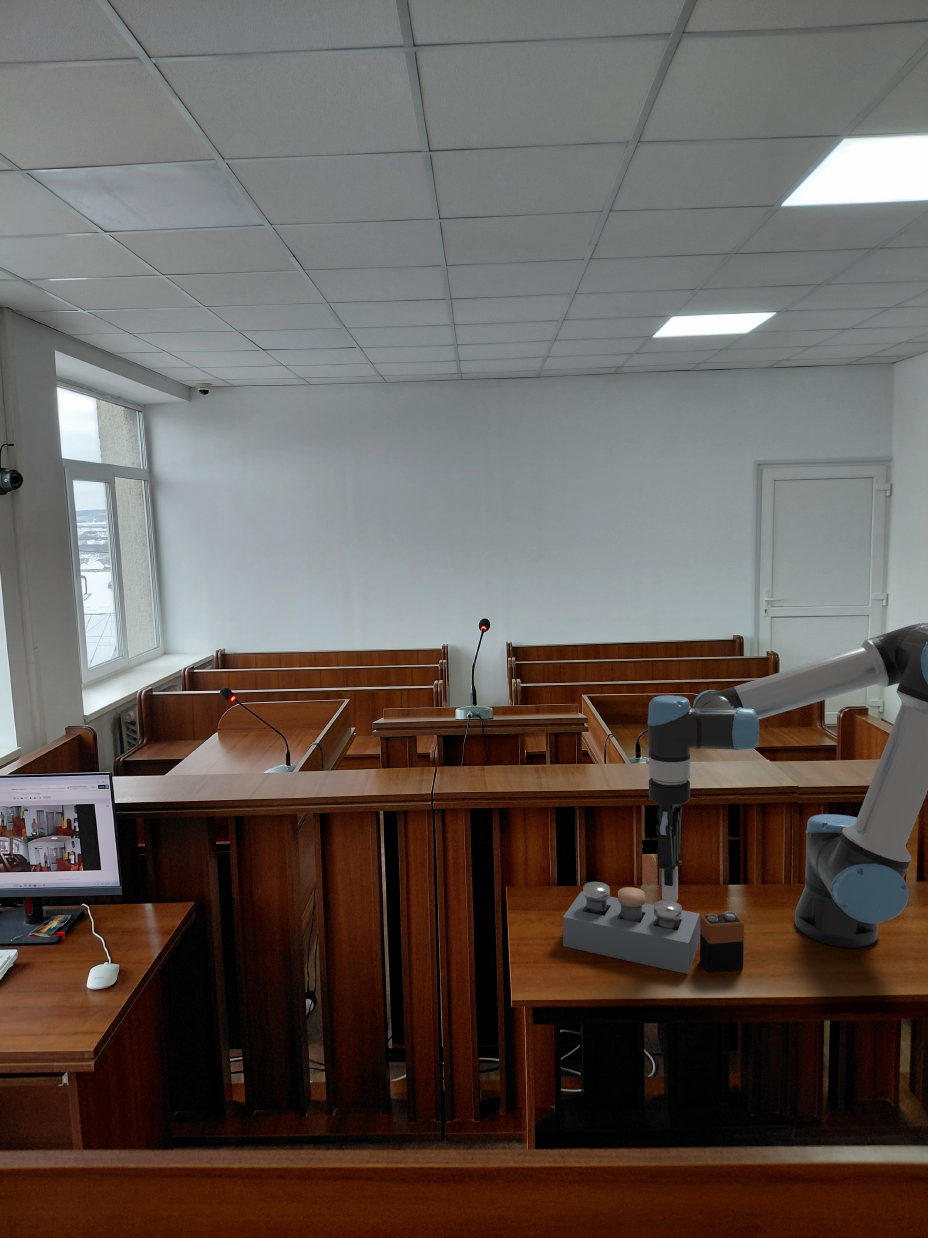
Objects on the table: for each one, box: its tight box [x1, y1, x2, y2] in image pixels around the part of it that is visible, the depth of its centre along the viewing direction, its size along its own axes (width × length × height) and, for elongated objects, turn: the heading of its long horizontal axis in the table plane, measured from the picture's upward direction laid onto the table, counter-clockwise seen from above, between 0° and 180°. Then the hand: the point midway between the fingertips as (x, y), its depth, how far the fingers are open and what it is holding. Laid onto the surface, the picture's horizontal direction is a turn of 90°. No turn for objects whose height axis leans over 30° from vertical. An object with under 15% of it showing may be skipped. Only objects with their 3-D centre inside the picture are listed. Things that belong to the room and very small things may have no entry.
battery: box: [699, 910, 745, 973], centre depth 144 cm, size 4×7×10 cm, turn 96°
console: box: [562, 890, 701, 975], centre depth 152 cm, size 24×12×6 cm, turn 64°
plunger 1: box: [582, 881, 611, 916], centre depth 155 cm, size 5×5×6 cm
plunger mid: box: [617, 886, 646, 923], centre depth 152 cm, size 5×5×6 cm
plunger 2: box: [653, 899, 683, 931], centre depth 149 cm, size 5×5×6 cm
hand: (670, 898), depth 148 cm, fingers closed
